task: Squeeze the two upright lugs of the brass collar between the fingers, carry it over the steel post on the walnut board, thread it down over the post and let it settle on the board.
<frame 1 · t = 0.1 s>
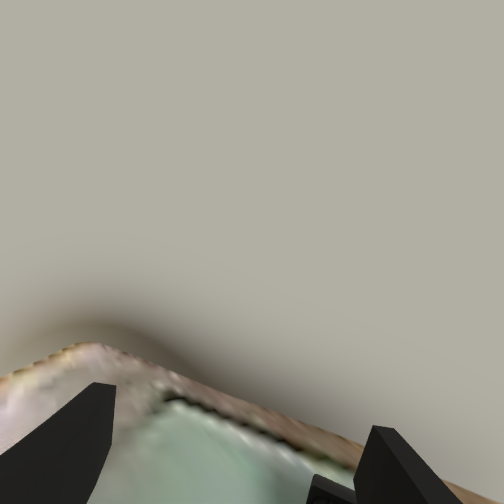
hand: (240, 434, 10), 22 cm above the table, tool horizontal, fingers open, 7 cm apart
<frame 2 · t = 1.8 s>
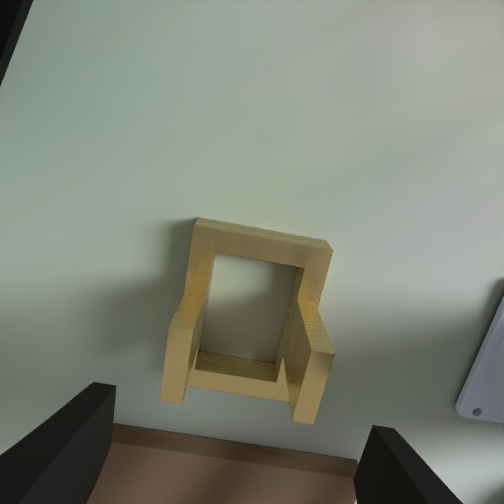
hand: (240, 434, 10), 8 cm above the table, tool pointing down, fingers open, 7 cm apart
collar: (247, 306, 17), on the table
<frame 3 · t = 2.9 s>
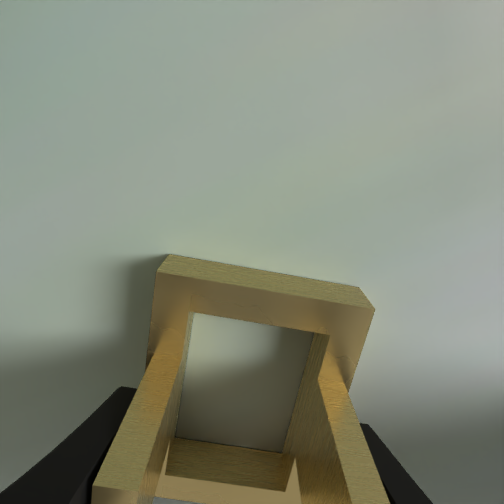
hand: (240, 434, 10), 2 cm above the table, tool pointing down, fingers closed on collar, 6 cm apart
collar: (242, 378, 12), on the table, touching gripper
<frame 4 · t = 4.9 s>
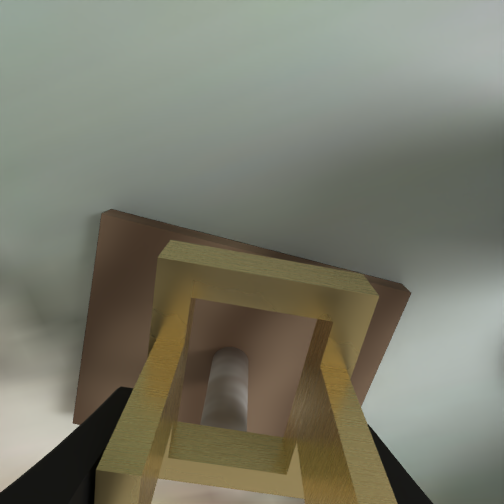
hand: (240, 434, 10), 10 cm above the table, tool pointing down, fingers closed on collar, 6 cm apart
post board: (231, 350, 20), on the table
collar: (245, 363, 12), point 7 cm above the table, touching gripper
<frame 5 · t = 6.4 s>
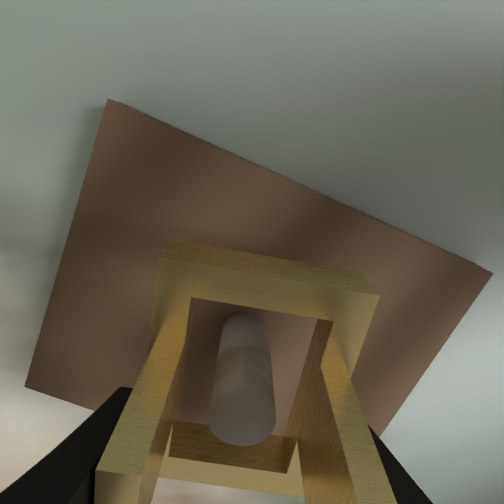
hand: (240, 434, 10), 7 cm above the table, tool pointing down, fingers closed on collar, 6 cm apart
post board: (245, 319, 16), on the table
collar: (245, 363, 12), point 4 cm above the table, touching gripper
when the fingers open (5 cm above the table, at t = 7.3 s): collar drops 1 cm, resting on post board.
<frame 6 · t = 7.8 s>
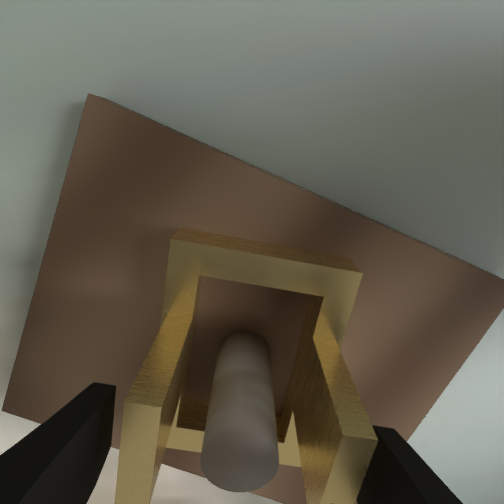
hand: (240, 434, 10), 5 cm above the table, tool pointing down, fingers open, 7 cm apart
post board: (244, 336, 14), on the table
collar: (245, 342, 13), point 1 cm above the table, touching post board
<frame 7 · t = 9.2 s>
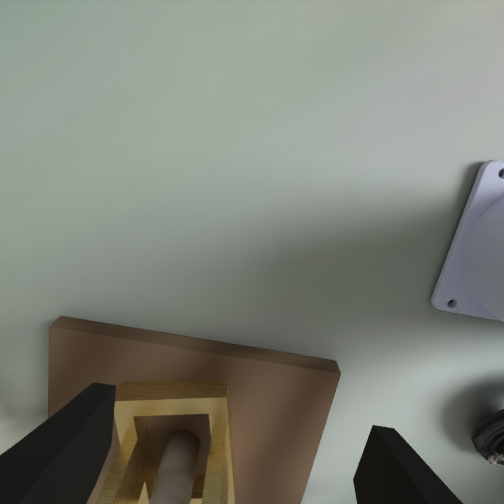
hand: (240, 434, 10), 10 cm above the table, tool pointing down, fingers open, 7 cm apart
post board: (187, 427, 22), on the table
collar: (182, 437, 21), point 1 cm above the table, touching post board
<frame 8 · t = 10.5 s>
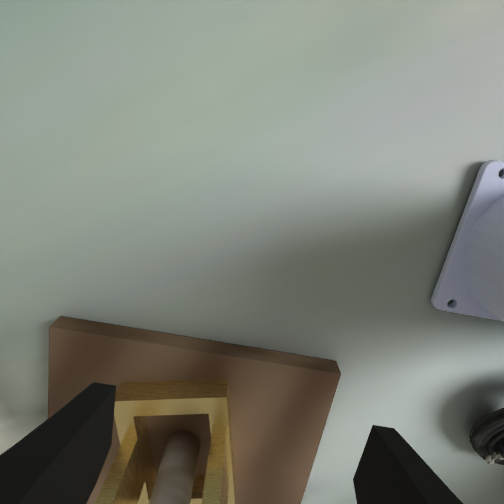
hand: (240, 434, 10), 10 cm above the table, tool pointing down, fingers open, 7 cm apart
post board: (187, 427, 22), on the table
collar: (182, 437, 21), point 1 cm above the table, touching post board
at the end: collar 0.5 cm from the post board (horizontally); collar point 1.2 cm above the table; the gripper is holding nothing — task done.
